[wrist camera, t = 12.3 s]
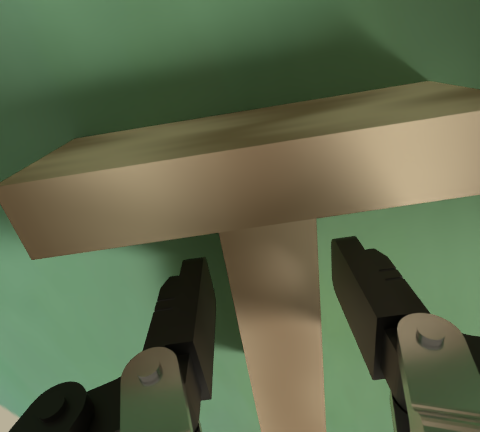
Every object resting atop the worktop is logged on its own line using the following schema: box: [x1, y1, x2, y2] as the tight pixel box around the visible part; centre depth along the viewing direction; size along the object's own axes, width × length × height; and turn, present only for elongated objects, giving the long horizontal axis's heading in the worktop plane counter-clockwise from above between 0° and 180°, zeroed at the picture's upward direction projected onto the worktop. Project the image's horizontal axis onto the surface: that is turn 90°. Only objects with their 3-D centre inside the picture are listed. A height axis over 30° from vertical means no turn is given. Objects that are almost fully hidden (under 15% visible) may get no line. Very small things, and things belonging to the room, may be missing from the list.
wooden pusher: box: [0, 81, 480, 432], centre depth 12 cm, size 12×12×4 cm
